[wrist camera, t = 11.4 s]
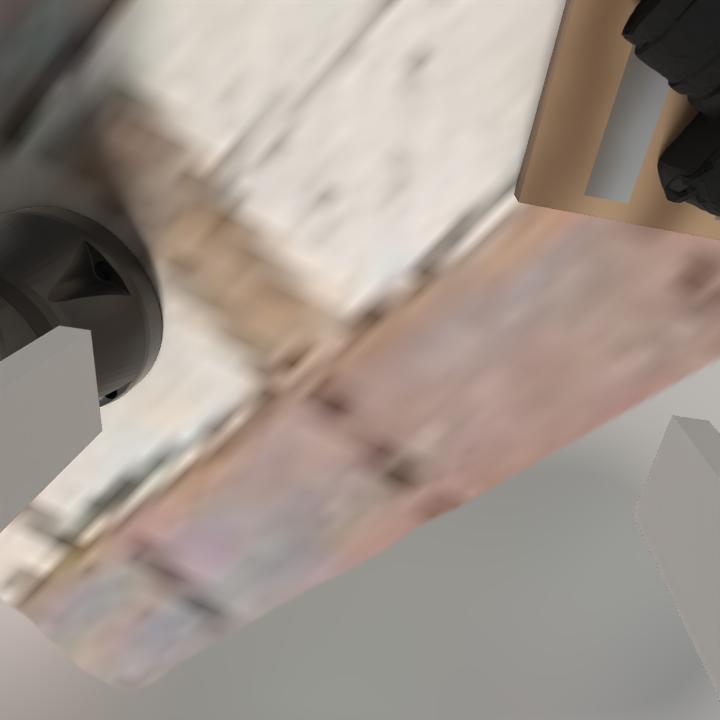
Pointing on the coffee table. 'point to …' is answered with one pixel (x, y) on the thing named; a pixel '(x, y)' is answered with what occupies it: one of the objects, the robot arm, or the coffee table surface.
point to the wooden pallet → (606, 128)
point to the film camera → (685, 90)
